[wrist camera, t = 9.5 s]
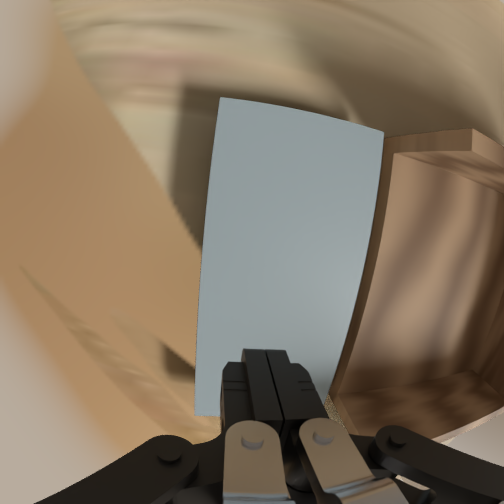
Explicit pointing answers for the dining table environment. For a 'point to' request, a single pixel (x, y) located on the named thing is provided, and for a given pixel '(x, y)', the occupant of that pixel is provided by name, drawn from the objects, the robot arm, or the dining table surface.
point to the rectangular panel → (282, 239)
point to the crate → (430, 292)
